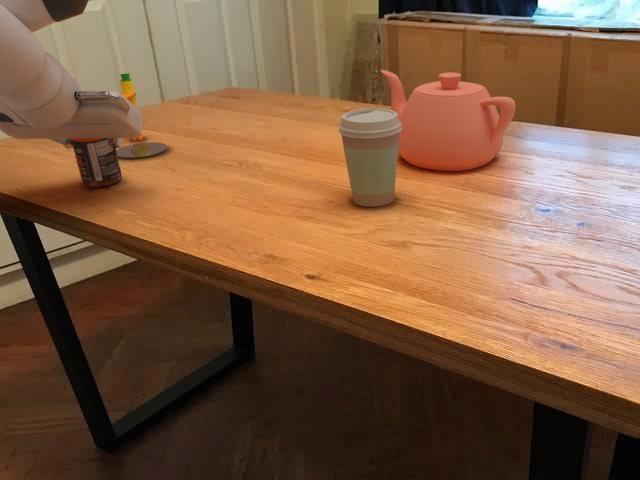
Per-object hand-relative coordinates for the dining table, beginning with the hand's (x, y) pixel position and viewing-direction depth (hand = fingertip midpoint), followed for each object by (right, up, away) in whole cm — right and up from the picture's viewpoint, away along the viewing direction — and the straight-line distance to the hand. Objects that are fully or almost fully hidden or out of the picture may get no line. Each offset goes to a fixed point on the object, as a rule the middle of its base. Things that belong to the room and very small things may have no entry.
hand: (95, 144), depth 102 cm
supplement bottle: (0, -6, +2) cm, 6 cm away
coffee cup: (+43, -10, -8) cm, 45 cm away
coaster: (+1, +2, +16) cm, 17 cm away
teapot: (+55, 0, +8) cm, 55 cm away
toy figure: (-2, +6, +24) cm, 25 cm away
